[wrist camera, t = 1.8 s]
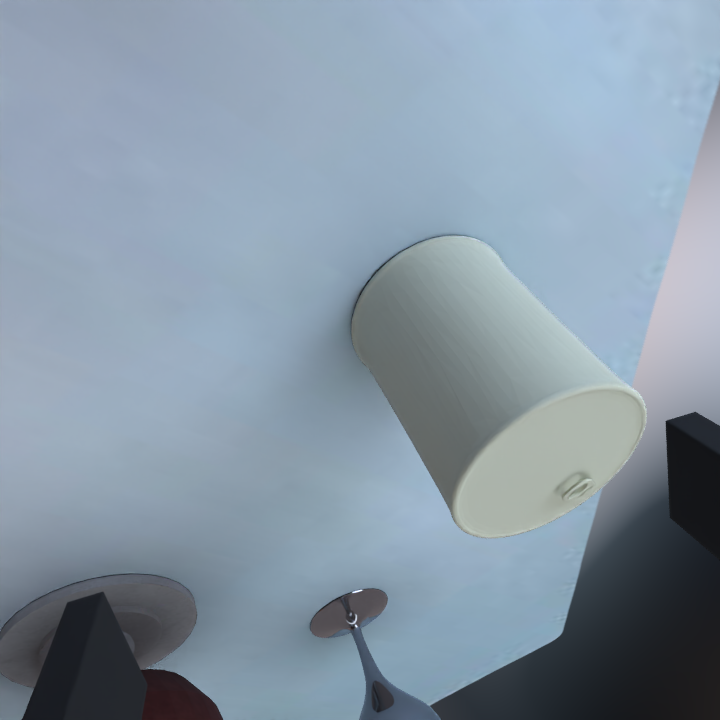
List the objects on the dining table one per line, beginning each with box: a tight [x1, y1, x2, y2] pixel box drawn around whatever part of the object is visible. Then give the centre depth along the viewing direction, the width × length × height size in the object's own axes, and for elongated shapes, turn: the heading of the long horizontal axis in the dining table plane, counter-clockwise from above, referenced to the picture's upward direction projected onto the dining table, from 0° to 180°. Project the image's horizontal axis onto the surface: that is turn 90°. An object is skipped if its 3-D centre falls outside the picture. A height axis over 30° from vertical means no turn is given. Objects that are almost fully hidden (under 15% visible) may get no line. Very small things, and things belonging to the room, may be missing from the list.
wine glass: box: [310, 589, 441, 720], centre depth 47 cm, size 8×8×15 cm
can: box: [351, 235, 647, 538], centre depth 29 cm, size 9×9×12 cm
